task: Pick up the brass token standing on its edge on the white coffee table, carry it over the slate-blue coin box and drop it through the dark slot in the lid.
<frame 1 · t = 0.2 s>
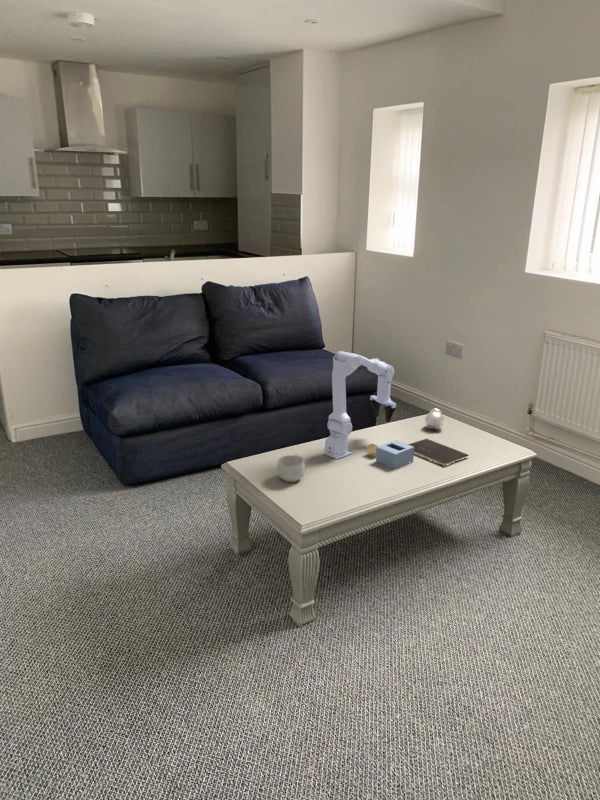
hand: (382, 419, 287), 10 cm above the table, fingers open, 7 cm apart
hardcover book: (435, 455, 275), on the table
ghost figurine: (434, 429, 305), on the table
teacup: (292, 477, 250), on the table
token: (373, 455, 272), on the table
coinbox: (394, 461, 267), on the table
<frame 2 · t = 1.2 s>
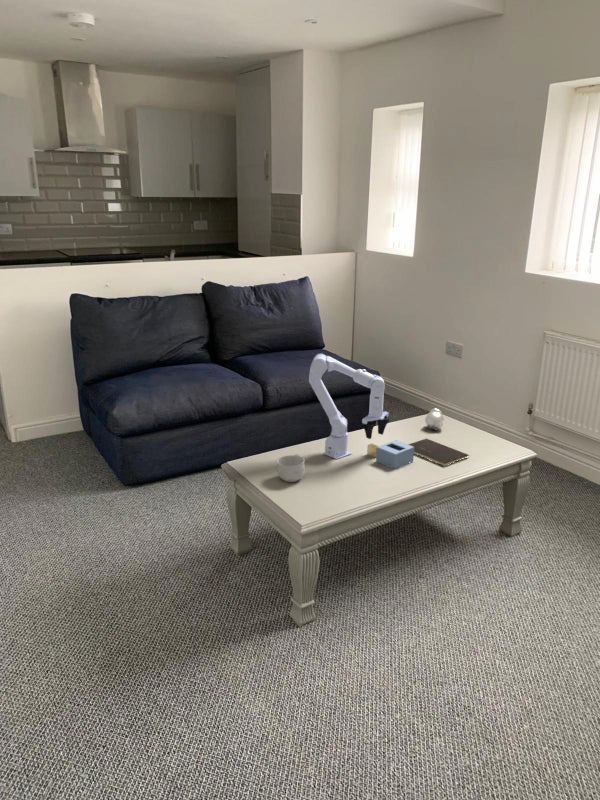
hand: (374, 436, 270), 9 cm above the table, fingers open, 7 cm apart
nothing on the table moved.
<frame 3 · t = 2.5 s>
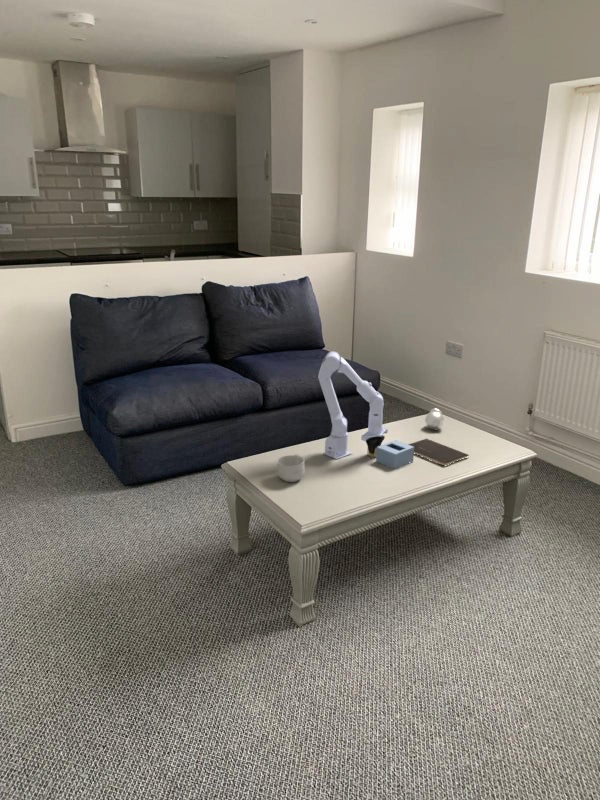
hand: (373, 452, 272), 1 cm above the table, fingers closed on token, 3 cm apart
token: (373, 455, 272), on the table, touching gripper
everything else where it was.
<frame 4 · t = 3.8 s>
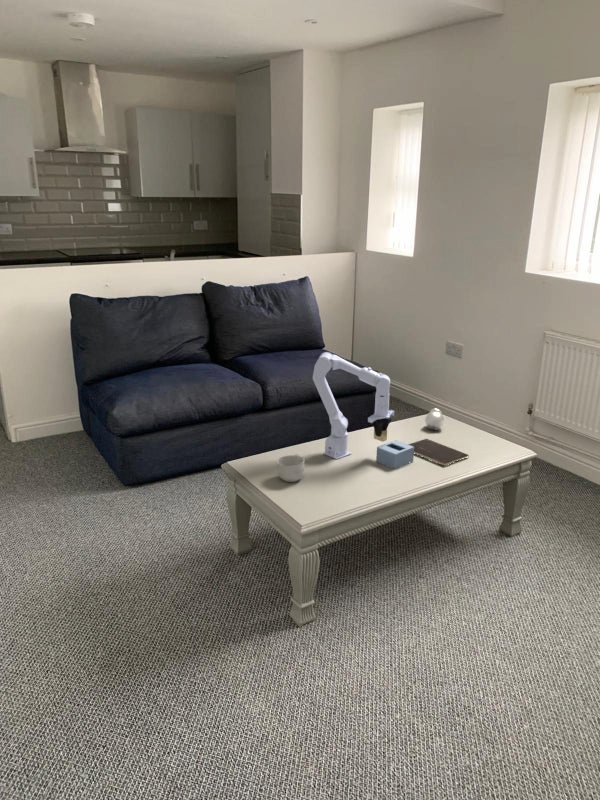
hand: (380, 434, 268), 10 cm above the table, fingers closed on token, 3 cm apart
token: (380, 439, 268), point 8 cm above the table, touching gripper
everything else where it was.
when the fingers open (9 cm above the table, at t = 4.8 s): token drops 6 cm, resting on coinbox.
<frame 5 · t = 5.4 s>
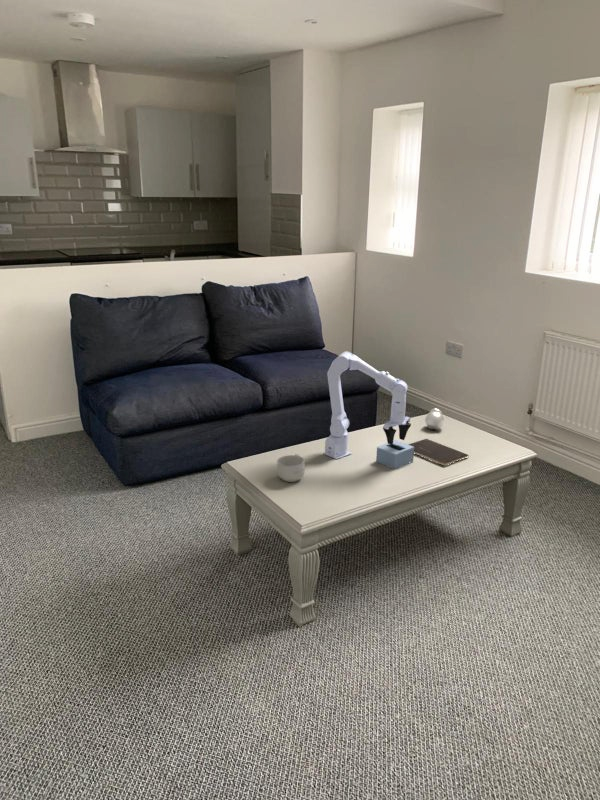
hand: (396, 441, 264), 9 cm above the table, fingers open, 7 cm apart
token: (394, 460, 266), resting on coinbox
everything else where it was.
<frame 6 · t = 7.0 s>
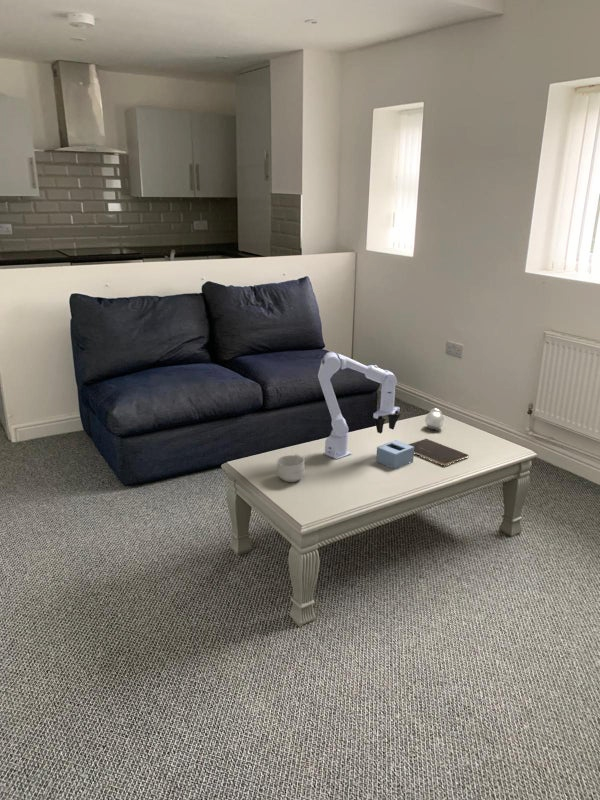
hand: (385, 430, 272), 10 cm above the table, fingers open, 7 cm apart
nothing on the table moved.
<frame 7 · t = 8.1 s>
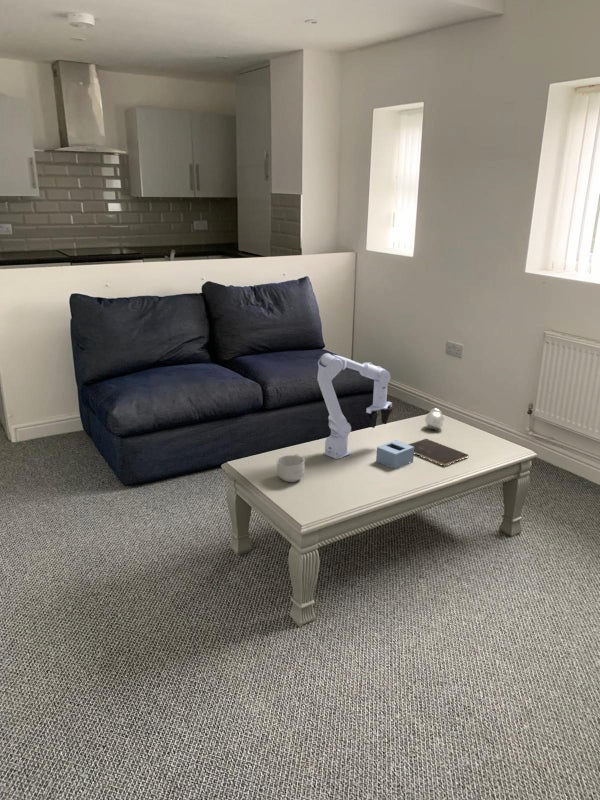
hand: (378, 425, 278), 10 cm above the table, fingers open, 7 cm apart
nothing on the table moved.
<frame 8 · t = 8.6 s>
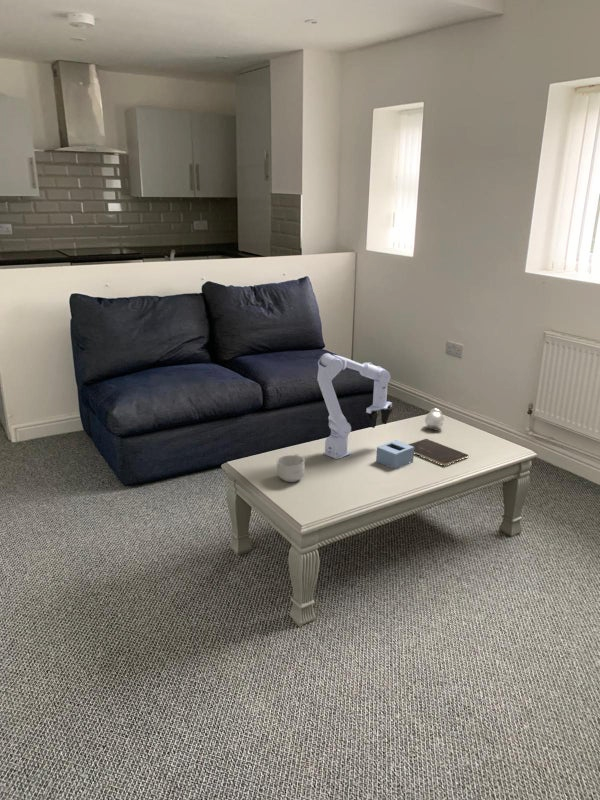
hand: (378, 425, 278), 10 cm above the table, fingers open, 7 cm apart
nothing on the table moved.
at the end: token inside the target area on the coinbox (0.1 cm from its centre), point 0.4 cm above the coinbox's base; the gripper is holding nothing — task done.
